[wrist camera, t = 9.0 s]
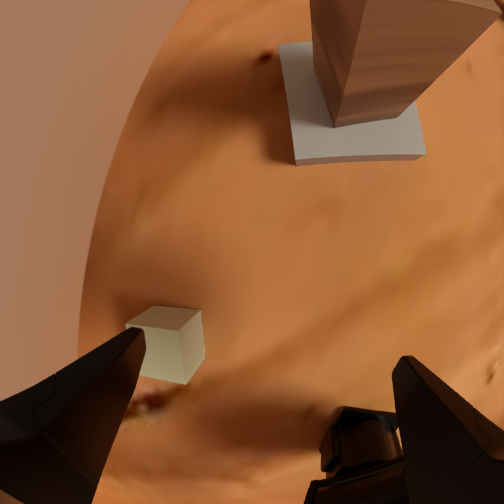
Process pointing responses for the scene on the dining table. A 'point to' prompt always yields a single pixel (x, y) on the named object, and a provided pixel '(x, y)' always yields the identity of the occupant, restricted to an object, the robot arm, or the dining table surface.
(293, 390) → the dining table surface
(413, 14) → the walnut pillar
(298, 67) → the slate slab
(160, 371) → the sage cube
